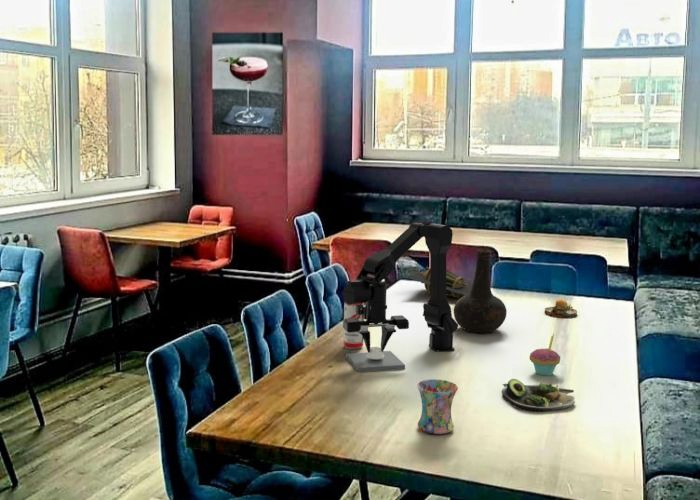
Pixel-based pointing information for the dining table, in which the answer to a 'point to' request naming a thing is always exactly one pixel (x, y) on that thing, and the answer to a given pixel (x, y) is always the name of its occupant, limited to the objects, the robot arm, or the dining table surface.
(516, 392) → the salad plate
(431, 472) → the dining table surface
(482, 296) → the dark brown vase
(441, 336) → the robot arm
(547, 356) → the cupcake
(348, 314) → the beer can
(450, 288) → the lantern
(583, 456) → the dining table surface
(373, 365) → the coaster
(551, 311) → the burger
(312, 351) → the dining table surface
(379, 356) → the white jar
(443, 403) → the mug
